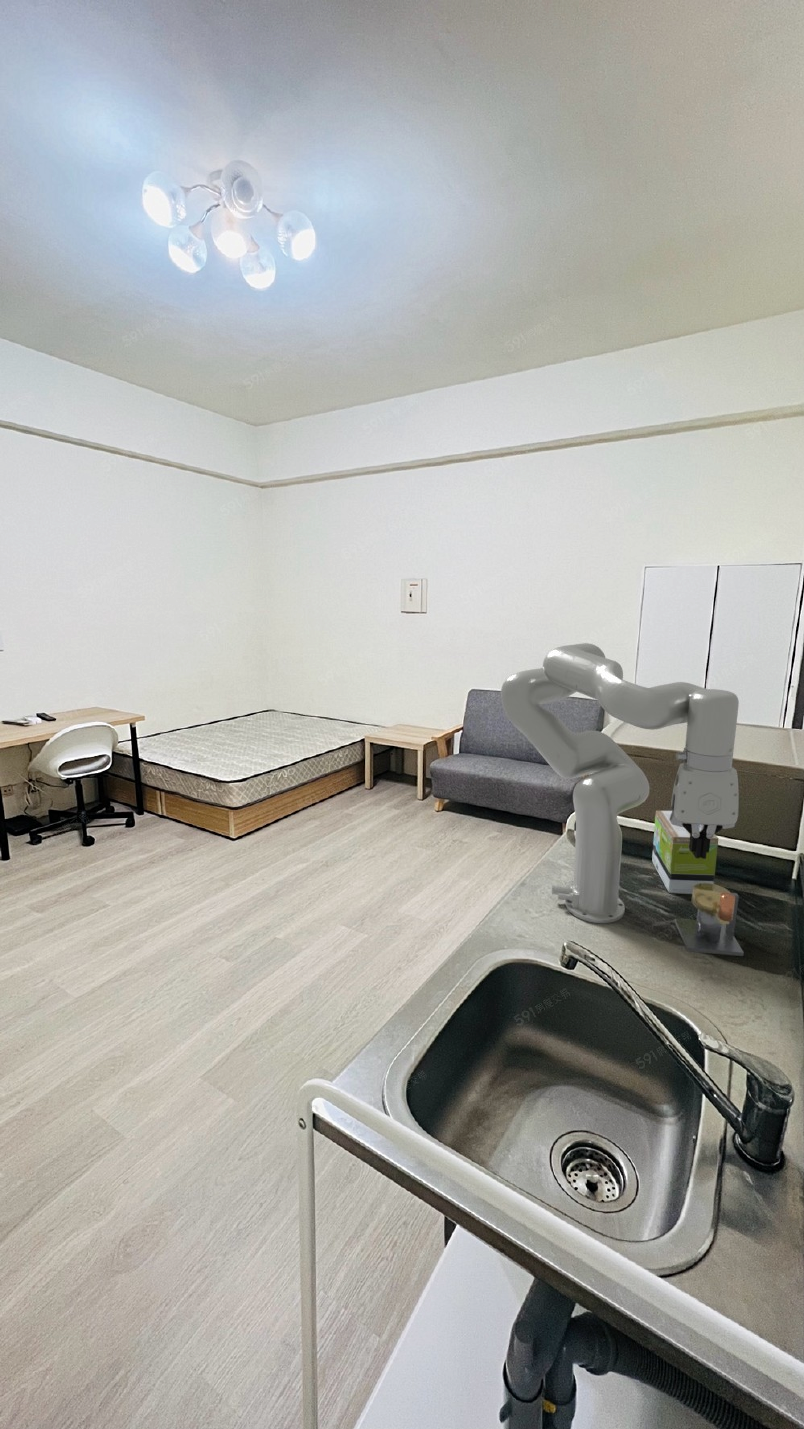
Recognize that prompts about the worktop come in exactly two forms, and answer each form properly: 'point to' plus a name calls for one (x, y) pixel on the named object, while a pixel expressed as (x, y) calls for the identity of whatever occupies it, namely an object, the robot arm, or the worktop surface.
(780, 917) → the worktop surface
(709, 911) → the crank with handle
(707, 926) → the grey crank stand
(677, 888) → the tea box
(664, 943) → the worktop surface
